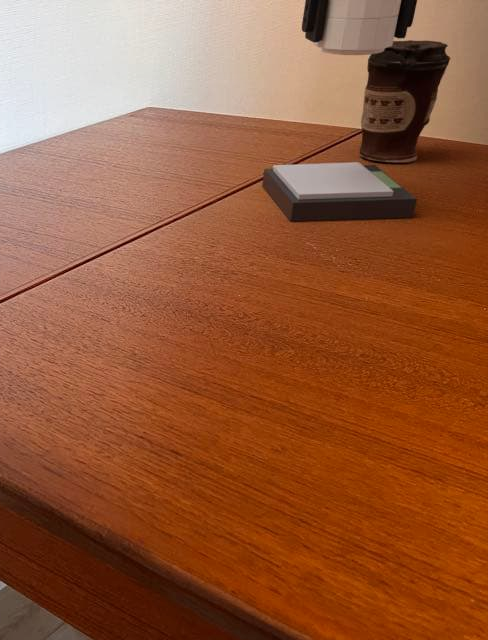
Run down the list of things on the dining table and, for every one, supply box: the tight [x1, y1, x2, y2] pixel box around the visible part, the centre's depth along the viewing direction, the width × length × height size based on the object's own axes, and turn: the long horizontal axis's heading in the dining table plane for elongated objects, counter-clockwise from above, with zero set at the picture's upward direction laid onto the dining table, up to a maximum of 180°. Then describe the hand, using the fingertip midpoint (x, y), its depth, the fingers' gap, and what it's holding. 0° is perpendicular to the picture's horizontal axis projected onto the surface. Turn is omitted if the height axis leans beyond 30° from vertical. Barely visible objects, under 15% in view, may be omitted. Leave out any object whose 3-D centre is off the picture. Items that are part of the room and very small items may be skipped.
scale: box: [261, 161, 418, 223], centre depth 91 cm, size 12×12×3 cm
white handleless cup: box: [313, 0, 402, 56], centre depth 82 cm, size 7×7×6 cm
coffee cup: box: [359, 39, 451, 164], centre depth 101 cm, size 9×8×13 cm
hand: (354, 36), depth 83 cm, fingers closed on white handleless cup, 7 cm apart
